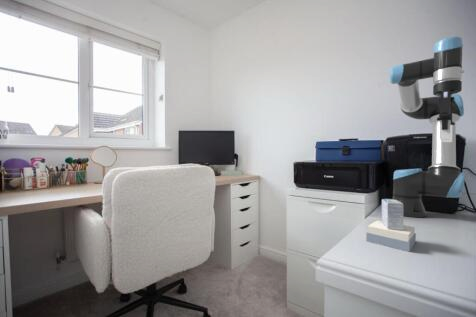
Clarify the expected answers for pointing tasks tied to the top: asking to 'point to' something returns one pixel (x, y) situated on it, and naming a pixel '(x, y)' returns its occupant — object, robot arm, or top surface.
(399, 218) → the medicine box
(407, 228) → the cream grey flat block
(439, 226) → the top surface
